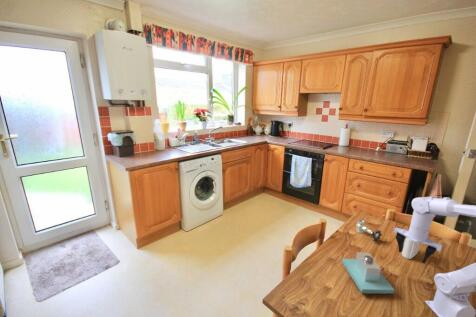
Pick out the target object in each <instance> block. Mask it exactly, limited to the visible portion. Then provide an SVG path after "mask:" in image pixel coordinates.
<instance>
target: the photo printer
mask: <svg viewBox="0 0 476 317" xmlns="http://www.w3.org/2000/svg"><path fill="white" fill-rule="evenodd" d="M420 245H421V243H419V242H418V243H416V242H413V241H411V239H409V238H407V237H406V238H405V241H404V245H403V250H402V252H401V256H402V257H403V258H405V259H407V260H411V259H413V257H415V256H416V255H417V254H418V252H419V250H420Z"/></svg>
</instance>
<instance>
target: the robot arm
mask: <svg viewBox="0 0 476 317" xmlns="http://www.w3.org/2000/svg"><path fill="white" fill-rule="evenodd" d="M411 207H412V209H413V212H412V216H411V221H410V225H409V229H408V230H407V229H403V228H399V227H397V226H396V227H395V228H394V230H393V233H394V234H396V235H395V239H396V242H397V245H398V253H401V254H402V250H403V245H404V241H405V238H406V237H407V238H409V239H411V241H413V242H416V243H418V242H419V243H420V244H422V245H425V246H427V247H426V249H425V252H424V257H423V259H422V264H425V263H426V262H427V260H428V258H430V257H431V256H432V255H434V254H435V253H436V251H437V252H441V250H442V248H443V244H441V243H438V242H436V241H434V240H433V239H430V238H429V232H430V229H431V225H432V222H433V220H434V219H433V218H434V217H435V215H437V216H444V217H449V218H450V217H451V218H456V217H459V216H460V215H461V216H466V217H471V218H476V205H475V204H474V205H473V204H472V205H471V204H460V202H458V201H457V200H455V199H451V197H449V196H448V197H447V196H446V197H442V198H439V197H438V198H437V197H435V196H424V197H423V196H421V197H420V196H419V197H415V198H413V199H412V201H411ZM433 280H434V284H435V287H436V290H435V293H434V297H433V300H425V301H424V302H425V303H426V305H427V306H428V307H429V308H430V309H431V310H432V311H433V312H434V314H436V316H437V317H476V309H475V308H474V307H473V305H472V304H471V303H470V301H469V297H470V295H471V293H475V292H476V262H474V263H471V264H469V265H466V266H465V267H462V268H460V269H457V270H454V271H449V272H445V273H442V272H439V273H436V274H435V275H434V278H433Z"/></svg>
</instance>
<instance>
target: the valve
mask: <svg viewBox="0 0 476 317" xmlns="http://www.w3.org/2000/svg"><path fill="white" fill-rule="evenodd" d="M365 223H366V220H364V219H361V218H360V219H358V220H357V223H356V224H355V227H356V229H355V230H356V231H355V232H356V233H358V234H363V233H368V234H370V235H371V238H372V239H371V240H372V242H378V240H380V239H381V236H383V234H382V230H380V229H376V230H375V231H372V230H371V229H369V227H368V226H366V225H365Z"/></svg>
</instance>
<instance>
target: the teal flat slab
mask: <svg viewBox="0 0 476 317" xmlns="http://www.w3.org/2000/svg"><path fill="white" fill-rule="evenodd" d="M355 261H356V258H342V260H341V263H342V264H343V266H344V268H345V269H346V270H347V272H348V274H349V276H350V277H351V278H352V280H353V281H354V283H355V285H356V286H357V288H358V290H359V291H360V293H361V294H363V295H365V294H369V295H371V294H372V295H389V294H395V289H394V287H393V286H392V285H391V283H389V281H388V280H387V279H386V277H385V276H384V275H383V274H382V272H380V277H379V281H378V282H370V281H364V279H363V277H362V276H361V274H360V272H359V270H358V269H357V267H356V265H355Z"/></svg>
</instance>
